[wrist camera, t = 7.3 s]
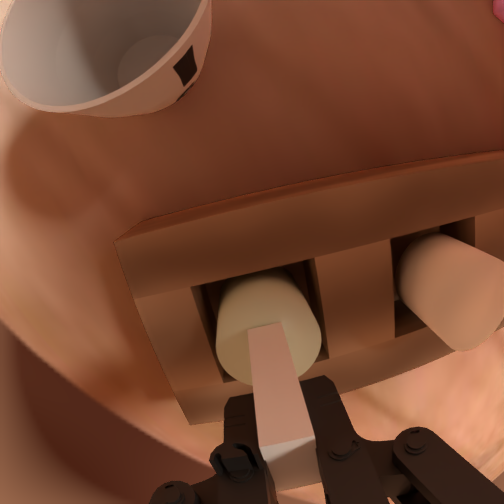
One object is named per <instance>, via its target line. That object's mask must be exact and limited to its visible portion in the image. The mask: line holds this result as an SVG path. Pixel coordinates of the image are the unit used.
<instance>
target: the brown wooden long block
mask: <svg viewBox="0 0 504 504" xmlns="http://www.w3.org/2000/svg"><path fill="white" fill-rule="evenodd" d="M430 232H439V233H443V234H445V235H447V236H450V237H452V238H454V239H457V240H459V241H461V242H463V243H466V244H468V245H470V246H472V247H474V248H477V249H479V250H481V251H483V252H485V253H487V254H489V255H492V256H494V257H496V258H498V259H500V260H502V261H503V262H504V150H497V151H488V152H479V153H471V154H463V155H456V156H449V157H441V158H434V159H428V160H421V161H415V162H408V163H402V164H396V165H390V166H384V167H378V168H373V169H367V170H362V171H356V172H351V173H345V174H340V175H335V176H330V177H325V178H320V179H315V180H310V181H305V182H300V183H296V184H291V185H286V186H282V187H277V188H273V189H268V190H264V191H259V192H255V193H251V194H246V195H242V196H238V197H234V198H230V199H225V200H221V201H217V202H213V203H209V204H205V205H201V206H197V207H193V208H190V209H186V210H182V211H178V212H174V213H171V214H167V215H163V216H159V217H156V218H152V219H149V220H145V221H141V222H140V223H138V224H137V225H136V226H134V227H133V228H132V229H130V230H129V231H128V232H126V233H125V234H124V235H122V236H121V237H120V238H118V239H117V240H116V241H114V245H115V248H116V251H117V254H118V257H119V260H120V263H121V266H122V269H123V272H124V275H125V278H126V281H127V283H128V286H129V289H130V292H131V294H132V297H133V300H134V302H135V305H136V308H137V310H138V313H139V315H140V318H141V320H142V323H143V325H144V328H145V330H146V333H147V335H148V337H149V340H150V342H151V344H152V347H153V349H154V351H155V354H156V356H157V358H158V360H159V363H160V365H161V367H162V369H163V371H164V374H165V376H166V378H167V380H168V382H169V384H170V386H171V388H172V391H173V393H174V395H175V397H176V399H177V401H178V403H179V405H180V407H181V409H182V411H183V413H184V415H185V417H186V418H187V420H188V422H189V424H190V425H196V424H203V423H211V422H217V421H224V407H225V405H226V403H227V401H228V399H229V397H233V396H239V395H244V394H249V393H253V386H252V385H248V384H245V383H243V382H240V381H238V380H236V379H235V378H233V377H232V376H231V375H230V374H228V373H227V372H226V371H225V369H224V368H223V367H222V365H221V364H220V362H219V359H218V356H217V353H216V337H217V323H218V309H219V297H220V291H221V288H222V286H223V284H224V282H225V280H226V279H227V278H231V277H235V276H240V275H244V274H248V273H253V272H257V271H261V270H265V269H269V268H274V267H278V266H281V267H283V268H284V269H286V270H287V271H288V272H289V273H290V274H291V275H292V276H293V277H294V278H295V280H296V282H297V284H298V286H299V288H300V289H301V291H302V293H303V295H304V297H305V299H306V301H307V303H308V305H309V307H310V309H311V311H312V313H313V315H314V317H315V319H316V321H317V323H318V325H319V328H320V332H321V347H320V351H319V354H318V356H317V358H316V360H315V362H314V363H313V364H312V366H311V367H310V368H309V369H308V370H307V371H306V372H305V373H303V374H302V375H301V376H299V377H298V380H299V381H303V380H307V379H311V378H314V377H318V376H322V375H325V376H327V377H328V378H329V379H330V380H332V381H333V382H334V384H335V386H336V389H337V391H338V393H339V394H343V393H346V392H349V391H352V390H356V389H359V388H362V387H365V386H368V385H371V384H374V383H377V382H380V381H383V380H385V379H388V378H391V377H394V376H396V375H399V374H402V373H404V372H407V371H410V370H412V369H415V368H417V367H420V366H422V365H425V364H427V363H429V362H432V361H434V360H437V359H439V358H441V357H443V356H446V355H448V354H450V353H452V352H455V350H453V349H451V348H450V347H449V346H448V345H447V344H446V343H445V342H444V341H443V340H442V339H441V338H440V337H439V336H438V335H437V334H436V333H435V332H434V331H432V330H431V329H430V328H429V327H428V326H427V325H426V324H425V323H424V322H423V321H422V320H421V319H420V318H419V317H418V316H417V315H416V314H415V313H413V312H412V311H411V310H410V309H409V308H408V307H407V306H406V305H405V304H404V303H403V302H402V301H401V300H400V298H399V296H398V294H397V291H396V287H395V274H396V269H397V265H398V263H399V260H400V258H401V256H402V254H403V252H404V251H405V250H406V248H407V247H408V246H409V245H410V244H411V243H412V242H413V241H414V240H415V239H416V238H418V237H419V236H421V235H423V234H426V233H430ZM502 327H504V318H503V320H502V321H501V323H500V325H499V326H498V327H497V329H496V330H495V331H497V330H499V329H501V328H502ZM495 331H494V332H495Z"/></svg>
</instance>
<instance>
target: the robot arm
mask: <svg viewBox="0 0 504 504" xmlns="http://www.w3.org/2000/svg"><path fill="white" fill-rule="evenodd" d="M247 333H248V343H249V353H250V363H251V373H252V383H253V393H249V394H244V395H239V396H233V397H229V399H228V401H227V403H226V405H225V407H224V443H222V444H221V445H219V446H217V447H216V448H215V449H214V451H213V452H212V453H211V456H210V459H209V461H210V463H211V465H212V466H213V468H214V470H215V471H216V473H217V474H215V475H214V476H213V477H211V478H209V479H207V480H205V481H202V482H199V483H196V484H194V485H191V486H190V485H189V484H188V483H185V482H182V481H170V482H167V483H164V484H163V485H161V486H160V487H158V488H157V489H156V491H155V492H154V494H153V496H152V498H151V500H150V502H149V504H279V503H278V501H277V496H276V491H277V492H278V491H284V490H289V489H294V488H298V487H303V486H307V485H311V484H316V483H320V482H322V484H323V488H324V493H325V500H326V504H390V503H389V501H388V499H387V497H390V498H391V499H392V501H393V502H394V503H395V504H504V492H503V491H501V490H500V489H499V488H498V487H497V486H495V485H494V484H493V483H492V482H491V481H490V480H489V479H487V478H486V477H485V476H484V475H483V474H482V473H480V472H479V471H478V470H477V469H476V468H475V467H473V466H472V465H471V464H470V463H469V462H468V461H466V460H465V459H464V458H463V457H462V456H461V455H459V454H458V453H457V452H456V451H455V450H454V449H453V448H451V447H450V446H449V445H448V444H447V443H446V442H444V441H443V440H442V439H441V438H440V437H439V436H438V435H436V434H435V433H434V432H433V431H431V430H429V429H428V428H423V427H413V428H409V429H406V430H404V431H402V432H401V433H400V434H399V435H398V436H397V437H396V439H395V440H388V441H370V440H366V439H364V438H362V437H360V436H359V435H358V434H357V433H356V432H355V430H354V428H353V426H352V424H351V421H350V419H349V417H348V414H347V412H346V410H345V407H344V405H343V403H342V401H341V398H340V396H339V393H338V391H337V389H336V386H335V384H334V382H333V381H332V380H330V379H329V378H328V377H327V376H325V375H322V376H318V377H314V378H311V379H307V380H303V381H299V380H298V377H297V373H296V370H295V367H294V363H293V360H292V356H291V353H290V350H289V346H288V343H287V340H286V336H285V333H284V330H283V326H282V323H281V322H278V323H274V324H270V325H265V326H261V327H257V328H252V329H248V330H247Z"/></svg>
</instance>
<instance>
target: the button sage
mask: <svg viewBox="0 0 504 504" xmlns="http://www.w3.org/2000/svg"><path fill="white" fill-rule="evenodd" d="M278 322H281V323H282V326H283V330H284V333H285V336H286V340H287V343H288V346H289V350H290V353H291V356H292V360H293V363H294V367H295V370H296V373H297V377H299V376H301V375H302V374H303V373H305V372H306V371H307V370H308V369H309V368H310V367H311V366H312V364H313V363H314V362H315V360H316V358H317V356H318V354H319V351H320V347H321V332H320V328H319V325H318V323H317V321H316V319H315V317H314V315H313V313H312V311H311V309H310V307H309V305H308V303H307V301H306V299H305V297H304V295H303V293H302V291H301V289H300V288H299V286H298V284H297V282H296V280H295V278H294V277H293V276H292V275H291V274H290V273H289V272H288V271H287V270H286V269H284V268H283V267H281V266H278V267H274V268H269V269H265V270H261V271H257V272H253V273H248V274H244V275H240V276H235V277H231V278H227V279H226V280H225V282H224V284H223V286H222V288H221V291H220V297H219V309H218V323H217V337H216V353H217V356H218V359H219V362H220V364H221V365H222V367H223V368H224V369H225V371H226V372H227V373H228V374H230V375H231V376H232V377H233V378H235V379H236V380H238V381H240V382H243V383H245V384H248V385H252V386H253V383H252V373H251V363H250V353H249V343H248V333H247V330H248V329H252V328H257V327H261V326H265V325H270V324H274V323H278Z"/></svg>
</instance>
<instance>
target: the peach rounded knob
mask: <svg viewBox="0 0 504 504" xmlns="http://www.w3.org/2000/svg"><path fill="white" fill-rule="evenodd" d="M395 287H396V291H397V294H398V296H399V298H400V300H401V301H402V302H403V303H404V304H405V305H406V306H407V307H408V308H409V309H410V310H411V311H412V312H413V313H415V314H416V315H417V316H418V317H419V318H420V319H421V320H422V321H423V322H424V323H425V324H426V325H427V326H428V327H429V328H430V329H431V330H432V331H434V332H435V333H436V334H437V335H438V336H439V337H440V338H441V339H442V340H443V341H444V342H445V343H446V344H447V345H448V346H449V347H450V348H451V349H453V350H455V351H468V350H471V349H474V348H476V347H477V346H479V345H481V344H482V343H483V342H485V341H486V340H487V339H488V338H489V337H490V336H491V335H492V334H493V333H494V331H495V330H496V329H497V327H498V326H499V325H500V323H501V321H502V320H503V318H504V262H503V261H502V260H500V259H498V258H496V257H494V256H492V255H489V254H487V253H485V252H483V251H481V250H479V249H477V248H474V247H472V246H470V245H468V244H466V243H463V242H461V241H459V240H457V239H454V238H452V237H450V236H447V235H445V234H443V233H439V232H430V233H426V234H423V235H421V236H419V237H418V238H416V239H415V240H414V241H413V242H412V243H411V244H410V245H409V246H408V247H407V248H406V250H405V251H404V252H403V254H402V256H401V258H400V260H399V263H398V265H397V269H396V274H395Z"/></svg>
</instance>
